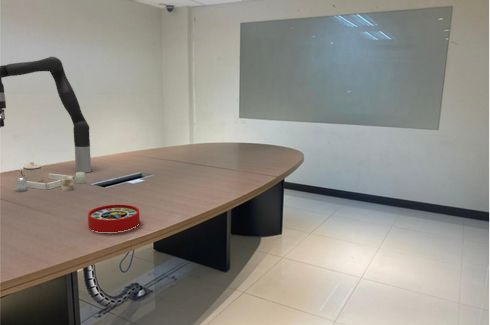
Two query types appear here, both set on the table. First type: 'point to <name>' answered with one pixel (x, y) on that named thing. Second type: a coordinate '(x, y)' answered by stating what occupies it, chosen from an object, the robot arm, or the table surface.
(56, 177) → the sorting bay
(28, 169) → the teacup with lid
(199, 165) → the table surface
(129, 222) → the toy clock
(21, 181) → the metal cylinder
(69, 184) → the birch block
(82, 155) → the robot arm
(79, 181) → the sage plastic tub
